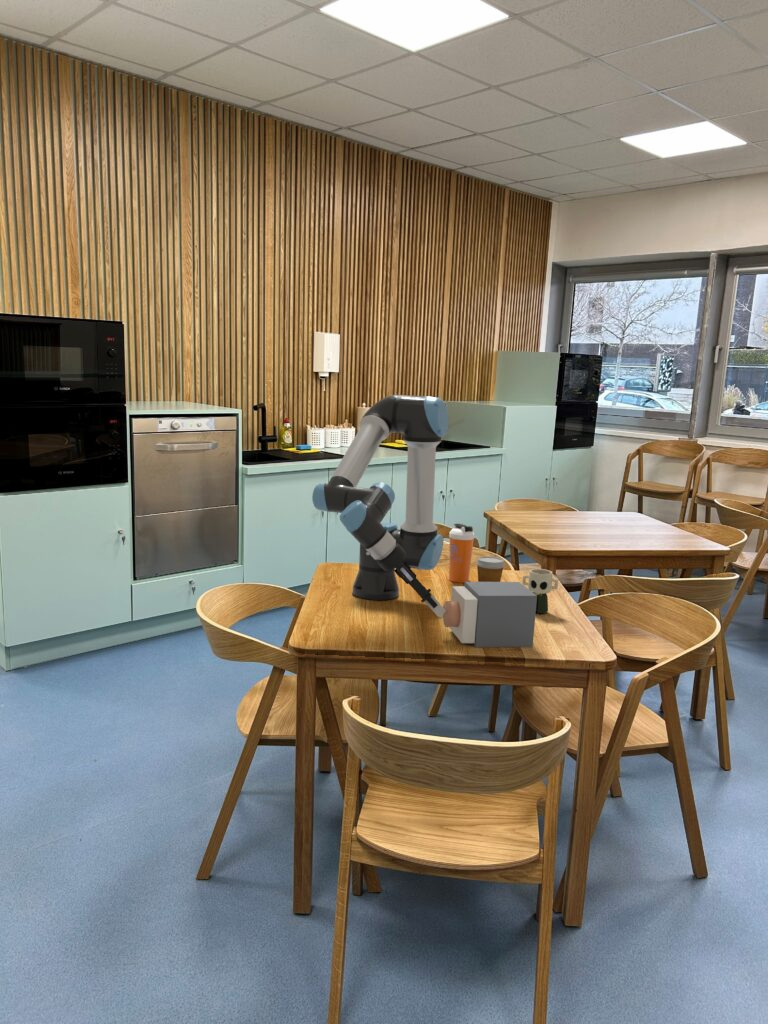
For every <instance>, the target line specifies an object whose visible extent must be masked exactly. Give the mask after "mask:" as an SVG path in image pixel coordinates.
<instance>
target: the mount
mask: <svg viewBox="0 0 768 1024" xmlns="http://www.w3.org/2000/svg"><path fill="white" fill-rule="evenodd" d="M463 586H464V587H465V588H466V589H467V590H469V591H470V592H471V593H472V594H473V595H474V596H475V597H476V598H477V599H478V604H477V617H476V631H475V643H471V644H472V645H473V647H474V648H526V647H527V648H528V647H529V648H531V647H534V635H535V625H536V623H535V622H536V612H537V610H536V603H537V595H536V594H534V593H533V592H532V591H530V590H529V588H528V587H526V585H523V583H521V582H520V581H500V582H478V581H468V582H465V583H464V585H463Z"/></svg>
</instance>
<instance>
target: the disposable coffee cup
mask: <svg viewBox="0 0 768 1024" xmlns="http://www.w3.org/2000/svg"><path fill="white" fill-rule="evenodd" d="M475 564H476V566H477V582H501V580H502V577H503V576H502V575H503V570H504V567H505V566H506V565H505V561H504V559H503V558H500V557H496V556H479V557H477V560H476V561H475Z"/></svg>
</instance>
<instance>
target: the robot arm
mask: <svg viewBox="0 0 768 1024" xmlns="http://www.w3.org/2000/svg"><path fill="white" fill-rule="evenodd" d="M449 422H450V421H449V411H448V407H447V405H446V403H445V401H444V400H443V399H442V398H440V397H434V396H429V395H405V394H393V395H388V396H386V397H383V398H381V399H380V400H378V401H377V402H376V403H374V404H373V405H372V406H370V407H369V408H368V409H367V411H366V412H365V413H364V415H363V416H362V418H361V419H360V420H359V429H358V432H356V433H355V435H354V437H353V440H352V442H351V443H350V445H349V446H348V448H347V450H346V452H345V454H344V455H343V457H342V459H341V460H340V462H339V464H338V465H337V467H336V469H335V470H334V472H333V474H332V475H331V478H330V479H329V480H328V482H327V483H326V482H323V483H319V484H316V485H315V487H314V489H313V491H312V495H311V499H312V503H313V507H314V508H315V509H317V510H319V511H322V512H327V513H336V514H337V513H339V521H340V523H342V525H343V526H344V527H345V529H346V531H347V532H348V533H349V534H351V536H353V538H355V540H356V541H357V542H358V543H359V558H358V559H359V561H358V571H357V574H356V577H355V580H354V582H353V584H352V594H353V595H354V596H355V597H358V598H359V599H365V600H373V601H385V600H386V601H387V600H388V601H389V600H392V599H396V598H398V597H399V595H400V587H399V584H398V580H397V577H396V575H397V576H398V578H400V579H402V580H403V582H404V583H405V584H407V585H410V586H411V588H412V589H413V590H414V591H415V592H416V594H417V595H419V596H420V598H421V600H420V602H421V604H424V603H425V604H426V605H427V606H428V607H429V609H431V611H432V612H433V613H434V614H435V615H436V616H437V617H438V618H439V619H440V618H441V617H443V614H444V613H445V612H446V610H445V609H444V608H443V606H442V604H441V603H440V602H439V601H438V600H437V599H436V597H435V596H434V595H433V594H432V593H431V592H432V590H431V589H430V588H428V589H427V588H426V586H424V585H423V584H422V582H421V581H420V580H419V579H418V578H417V574H416V573H415V572H414V570H412V569H415V570H419V571H421V570H422V571H431V570H433V569H435V567H437V566H438V563H439V561H440V560H441V559H440V558H441V556H442V552H443V548H444V537H443V535H441V534H439V533H438V526H437V525H436V524H435V523H434V506H435V505H434V504H435V503H434V502H435V501H434V500H435V477H436V476H435V473H436V455H437V453H436V452H437V450H436V449H437V447H438V446H439V444H440V443H441V442H442V438H443V437H444V436H446V435H447V434H448V430H449V429H448V428H449ZM393 433H394V434H395V433H397V434H402V436H403V437H402V439H403V442H404V443H405V444H406V446H407V462H406V463H407V465H406V496H405V521H404V522H403V523H402V524H401V525H400V529H398V524H397V523H394V522H393V523H392V522H383V520H384V518H385V516H387V514H388V512H389V511H390V509H391V508H392V506H393V503H394V502H395V499H396V494H395V491H394V489H393V488H392V487H391V486H390V485H389V484H387V483H385V482H380V481H378V482H375V483H373V484H372V485H371V486H370V487H369V488H366V487H358V485H359V483H360V481H361V479H362V477H363V475H364V474H365V472H366V471H367V469H368V466H369V465H370V463H371V461H372V459H373V458H374V455H375V454H376V452H377V451H378V449H379V446H380V445H381V443H382V441H385V440H386V439H388V437H389V436H390V434H393ZM381 522H382V523H381Z"/></svg>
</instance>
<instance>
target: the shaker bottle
mask: <svg viewBox="0 0 768 1024" xmlns="http://www.w3.org/2000/svg"><path fill="white" fill-rule="evenodd" d="M453 526H454V528H452V529H450V531H449V533H448V534H449V535H448V537H449V555H448V556H449V559H448V561H449V562H448V581H450V582H453V583H459V584H462V583H464V584H465V582H470V574H471V573H470V571H471V564H472V558H473V557H472V555H473V550H474V549H473V547H474V540H475V535H476V533H475V532H474V528H473V526H471V525H466V524H463V523H454V524H453Z"/></svg>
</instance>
